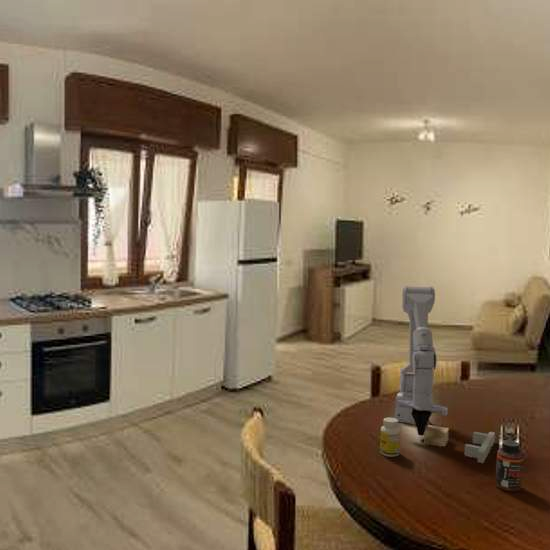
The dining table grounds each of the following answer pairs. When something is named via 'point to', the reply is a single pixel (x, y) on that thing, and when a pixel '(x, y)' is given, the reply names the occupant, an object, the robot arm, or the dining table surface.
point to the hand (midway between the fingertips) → (421, 434)
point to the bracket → (478, 451)
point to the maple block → (436, 435)
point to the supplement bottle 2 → (509, 466)
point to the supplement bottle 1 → (390, 438)
